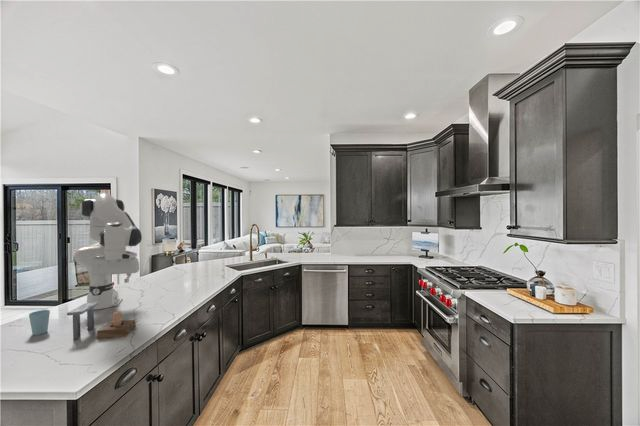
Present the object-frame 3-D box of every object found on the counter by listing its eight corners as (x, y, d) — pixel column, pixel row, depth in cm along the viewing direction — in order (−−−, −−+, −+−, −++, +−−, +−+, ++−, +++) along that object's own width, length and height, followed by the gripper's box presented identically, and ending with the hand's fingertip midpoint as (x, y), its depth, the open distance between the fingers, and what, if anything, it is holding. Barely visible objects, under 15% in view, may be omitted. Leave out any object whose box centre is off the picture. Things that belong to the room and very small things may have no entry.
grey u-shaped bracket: (85, 328, 153) (85, 303, 153) (99, 327, 155) (98, 302, 154) (67, 340, 139) (67, 312, 139) (82, 339, 140) (81, 311, 140)
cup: (30, 337, 143) (30, 316, 143) (28, 333, 148) (27, 312, 148) (51, 332, 149) (51, 311, 149) (48, 328, 154) (48, 308, 154)
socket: (109, 329, 152) (109, 321, 152) (135, 327, 154) (135, 319, 154) (97, 339, 140) (97, 330, 140) (125, 336, 142) (125, 328, 142)
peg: (111, 334, 145) (111, 314, 145) (115, 331, 148) (114, 312, 148) (119, 333, 146) (119, 313, 146) (122, 331, 149) (122, 311, 149)
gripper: (88, 257, 141) (88, 286, 142) (135, 255, 146) (135, 283, 146) (95, 255, 148) (95, 282, 148) (140, 253, 152) (140, 280, 152)
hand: (116, 282), depth 147 cm, fingers open, 8 cm apart
